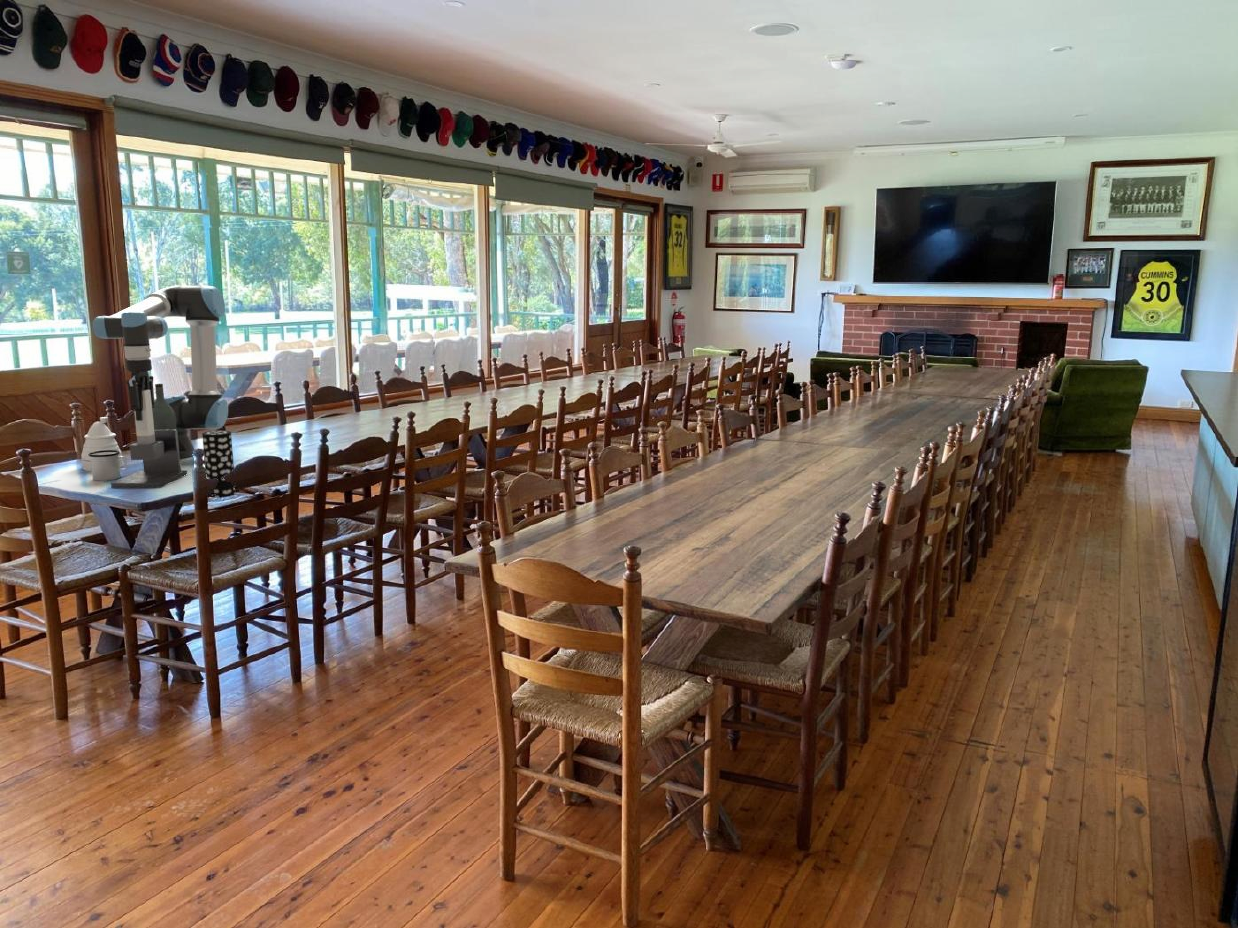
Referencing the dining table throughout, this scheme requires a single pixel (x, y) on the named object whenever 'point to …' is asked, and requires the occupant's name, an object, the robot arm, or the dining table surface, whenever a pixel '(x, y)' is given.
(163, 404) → the bottle
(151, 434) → the tall white block
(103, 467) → the mug
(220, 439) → the black dotted tall container
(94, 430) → the honey pot
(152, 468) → the coffee machine
